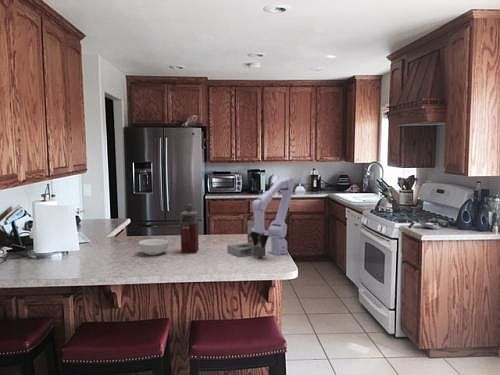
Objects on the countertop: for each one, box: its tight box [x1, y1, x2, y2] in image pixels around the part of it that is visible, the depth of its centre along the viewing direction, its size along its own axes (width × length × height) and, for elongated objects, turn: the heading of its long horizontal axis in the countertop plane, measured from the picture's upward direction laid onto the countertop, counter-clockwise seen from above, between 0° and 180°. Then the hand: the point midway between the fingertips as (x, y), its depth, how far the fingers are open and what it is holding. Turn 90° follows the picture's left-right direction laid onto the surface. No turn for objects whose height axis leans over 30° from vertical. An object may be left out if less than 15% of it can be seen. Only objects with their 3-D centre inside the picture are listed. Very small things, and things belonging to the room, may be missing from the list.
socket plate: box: [226, 242, 257, 258], centre depth 244 cm, size 14×13×4 cm
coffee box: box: [247, 218, 262, 247], centre depth 264 cm, size 9×6×16 cm
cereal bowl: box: [138, 238, 169, 256], centre depth 246 cm, size 17×17×7 cm
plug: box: [253, 246, 266, 259], centre depth 234 cm, size 4×5×6 cm
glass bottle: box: [179, 203, 200, 254], centre depth 248 cm, size 9×11×28 cm
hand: (259, 246), depth 233 cm, fingers open, 7 cm apart
